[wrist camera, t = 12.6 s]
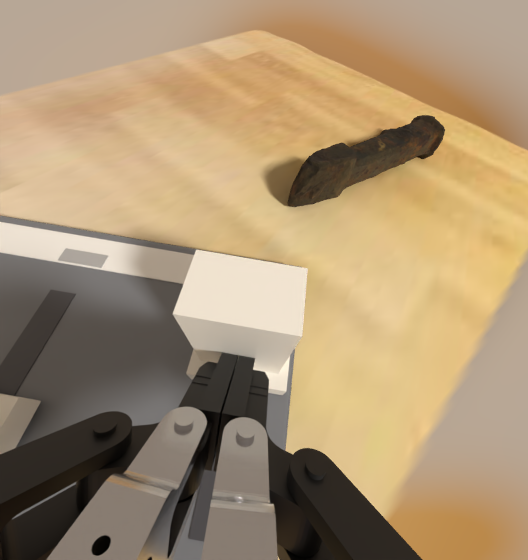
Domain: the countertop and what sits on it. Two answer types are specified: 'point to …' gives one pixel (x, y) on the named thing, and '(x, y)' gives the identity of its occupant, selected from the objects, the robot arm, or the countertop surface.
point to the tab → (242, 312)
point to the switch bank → (101, 337)
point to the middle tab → (14, 419)
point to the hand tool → (363, 160)
